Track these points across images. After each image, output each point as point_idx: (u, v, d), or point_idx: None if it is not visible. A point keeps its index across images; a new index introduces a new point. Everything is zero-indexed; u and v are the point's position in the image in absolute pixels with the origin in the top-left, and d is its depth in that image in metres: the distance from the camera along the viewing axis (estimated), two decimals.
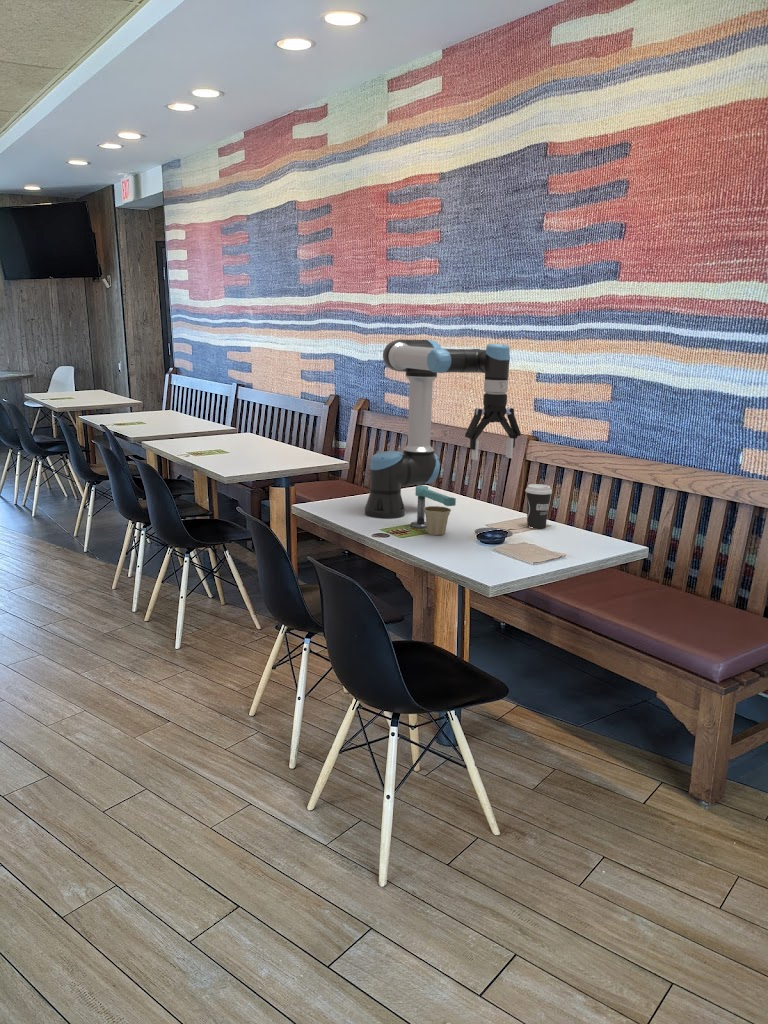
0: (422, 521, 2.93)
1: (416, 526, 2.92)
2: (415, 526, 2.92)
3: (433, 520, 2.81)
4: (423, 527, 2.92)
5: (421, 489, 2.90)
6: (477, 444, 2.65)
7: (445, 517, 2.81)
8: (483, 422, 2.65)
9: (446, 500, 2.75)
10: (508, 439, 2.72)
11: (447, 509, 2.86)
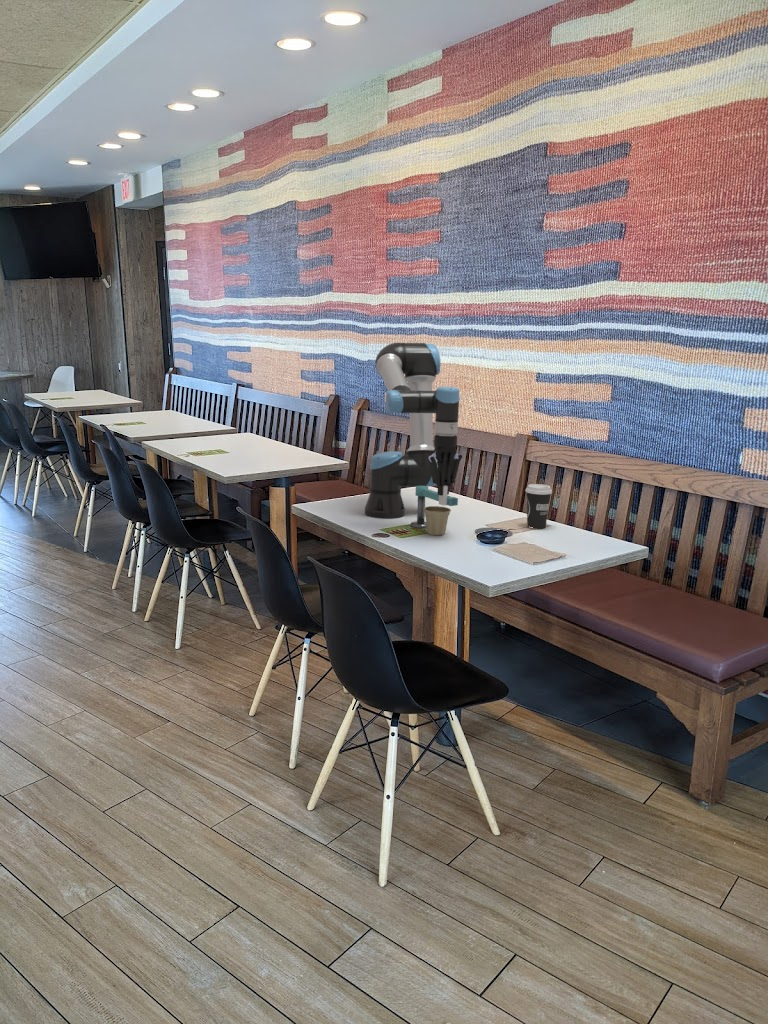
0: (422, 521, 2.93)
1: (416, 526, 2.92)
2: (415, 526, 2.92)
3: (433, 520, 2.81)
4: (423, 527, 2.92)
5: (421, 489, 2.90)
6: (444, 490, 2.75)
7: (445, 517, 2.81)
8: (440, 466, 2.73)
9: (448, 500, 2.75)
10: None
11: (447, 509, 2.86)
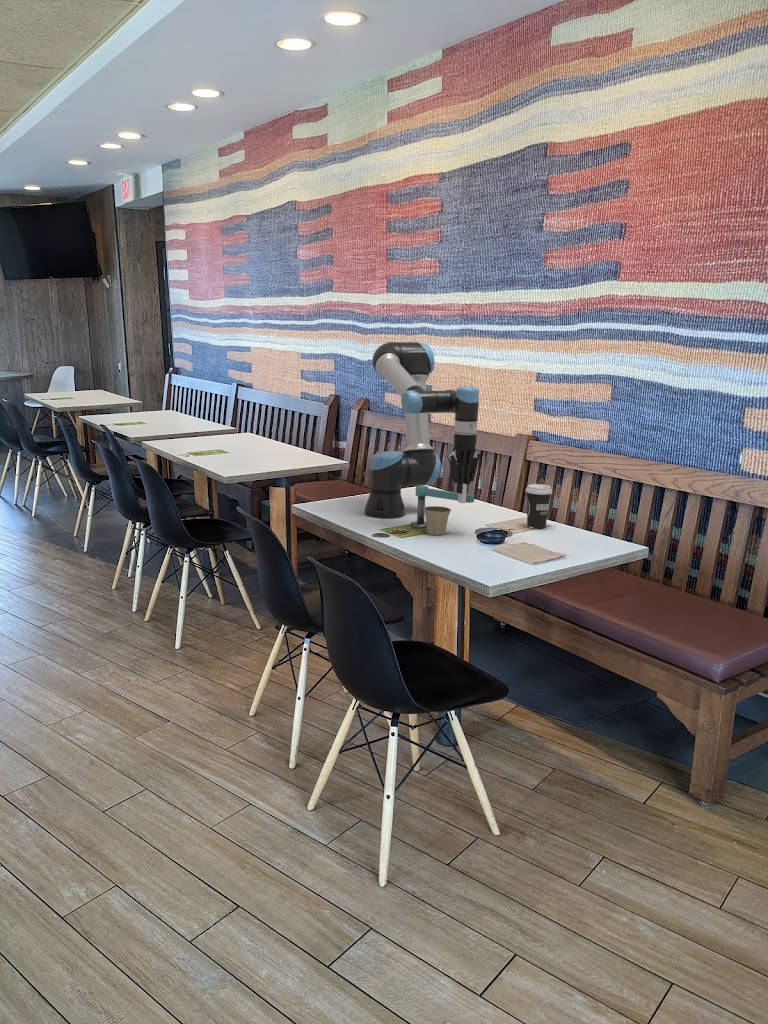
0: (422, 521, 2.93)
1: (416, 526, 2.92)
2: (415, 526, 2.92)
3: (433, 520, 2.81)
4: (423, 527, 2.92)
5: (424, 489, 2.90)
6: (464, 488, 2.79)
7: (445, 517, 2.81)
8: (460, 465, 2.77)
9: (467, 497, 2.81)
10: None
11: (447, 509, 2.86)
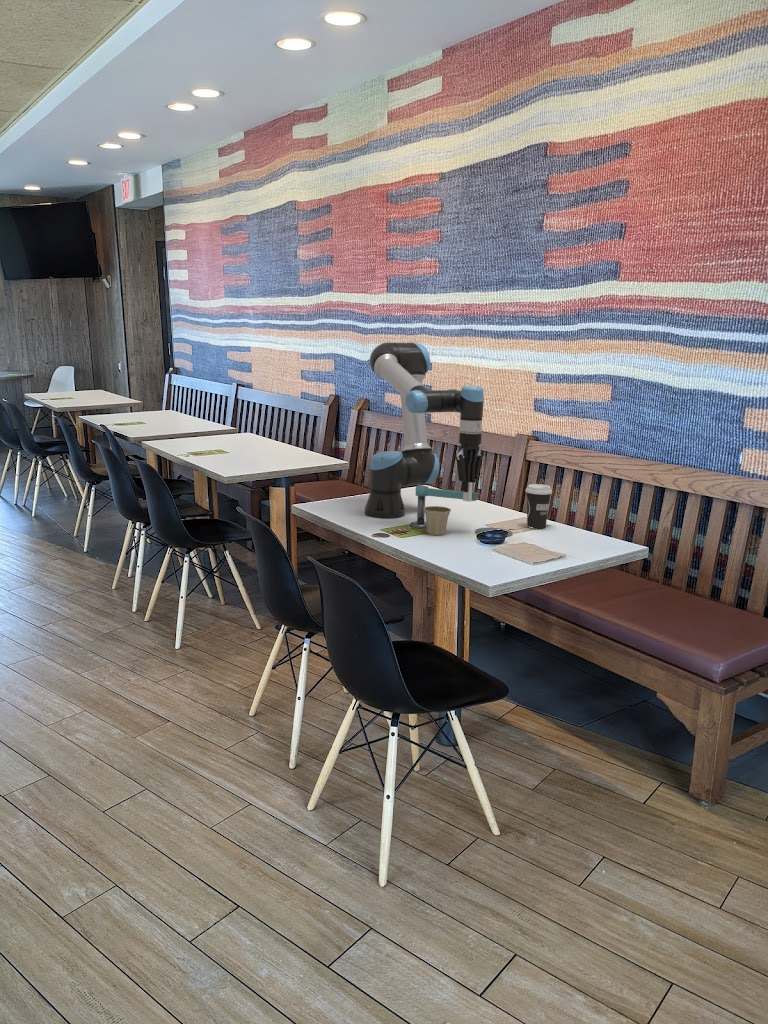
0: (422, 521, 2.93)
1: (416, 526, 2.92)
2: (415, 526, 2.92)
3: (433, 520, 2.81)
4: (423, 527, 2.92)
5: (425, 489, 2.90)
6: (470, 486, 2.82)
7: (445, 517, 2.81)
8: (466, 464, 2.80)
9: (473, 495, 2.84)
10: None
11: (447, 509, 2.86)
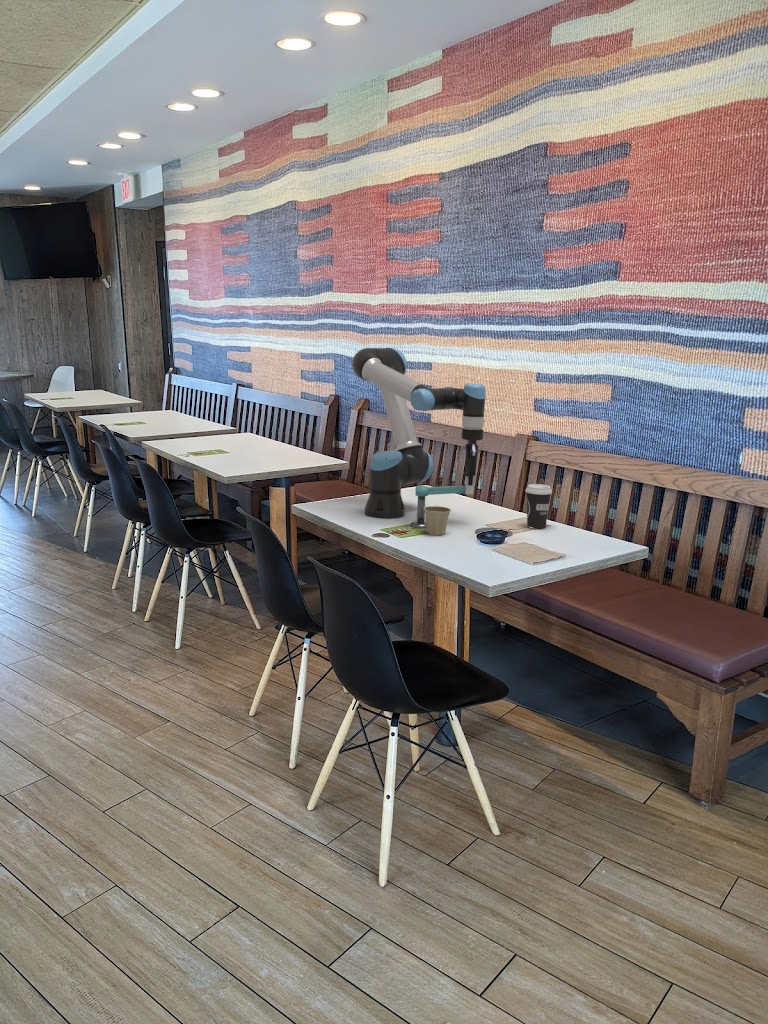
0: (422, 521, 2.93)
1: (416, 526, 2.92)
2: (415, 526, 2.92)
3: (433, 520, 2.81)
4: (423, 527, 2.92)
5: (428, 488, 2.92)
6: (473, 480, 2.95)
7: (445, 517, 2.81)
8: None
9: None
10: None
11: (447, 509, 2.86)
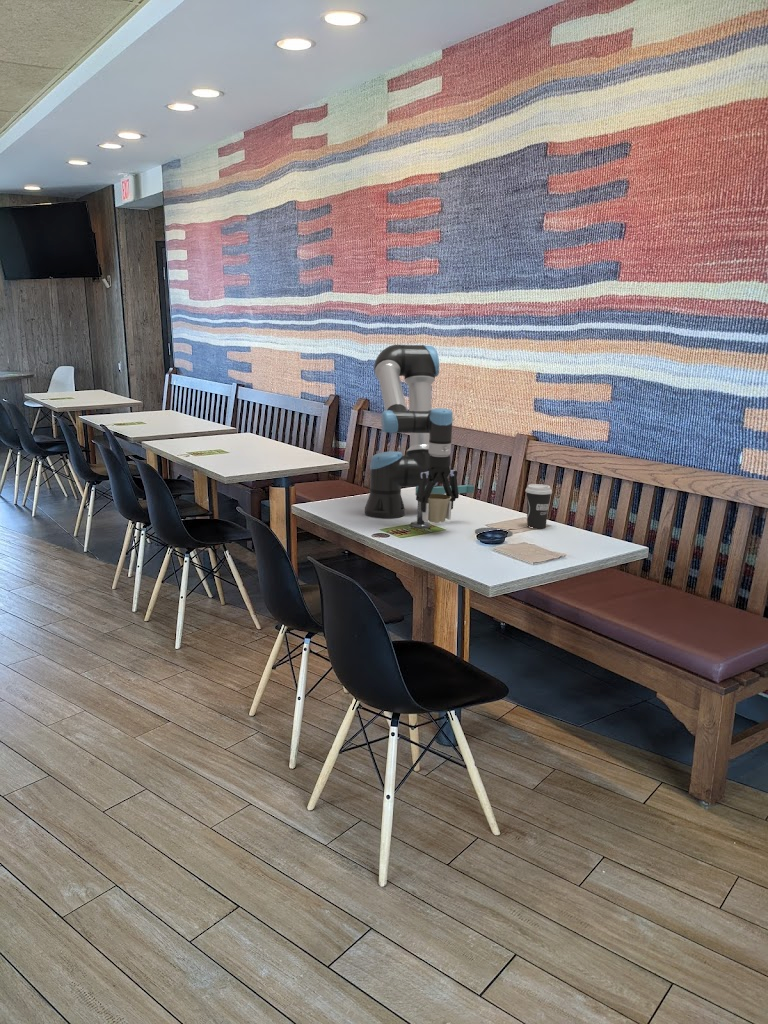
0: (422, 521, 2.93)
1: (416, 526, 2.92)
2: (415, 526, 2.92)
3: (433, 507, 2.81)
4: (423, 527, 2.92)
5: None
6: (427, 507, 2.81)
7: (445, 504, 2.81)
8: (430, 484, 2.80)
9: (471, 487, 2.98)
10: None
11: (447, 496, 2.85)
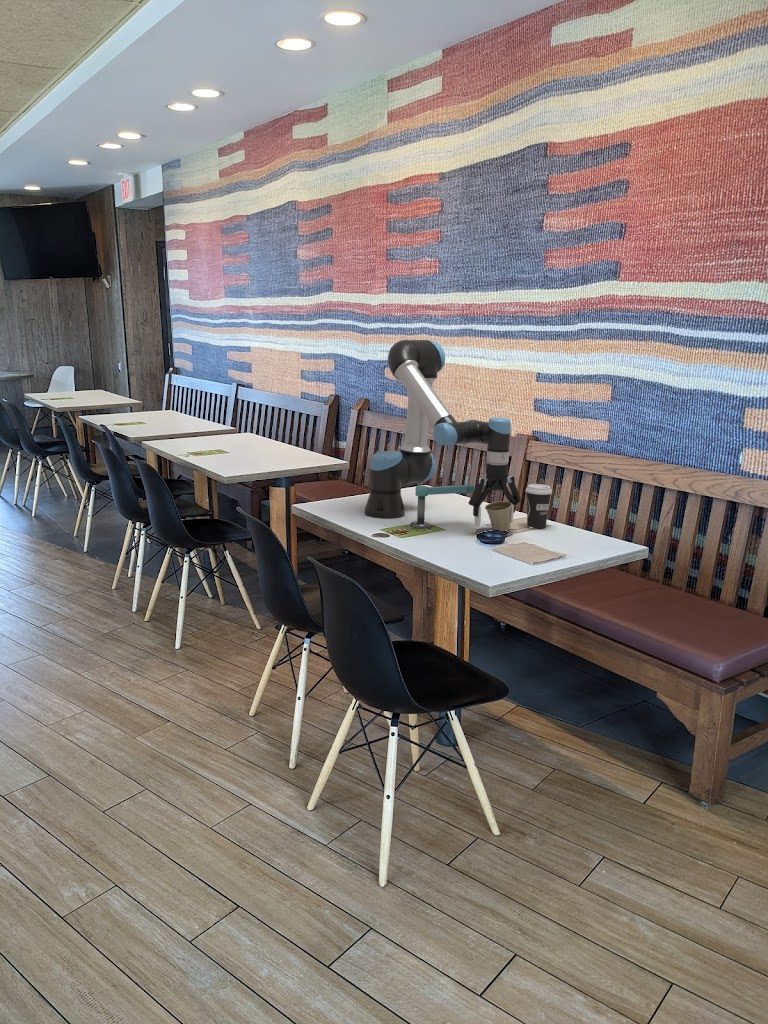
0: (422, 521, 2.93)
1: (416, 526, 2.92)
2: (415, 526, 2.92)
3: (496, 518, 2.85)
4: (423, 527, 2.92)
5: (428, 488, 2.92)
6: (480, 511, 2.82)
7: (508, 513, 2.85)
8: (485, 490, 2.82)
9: (471, 487, 2.98)
10: None
11: (508, 503, 2.89)
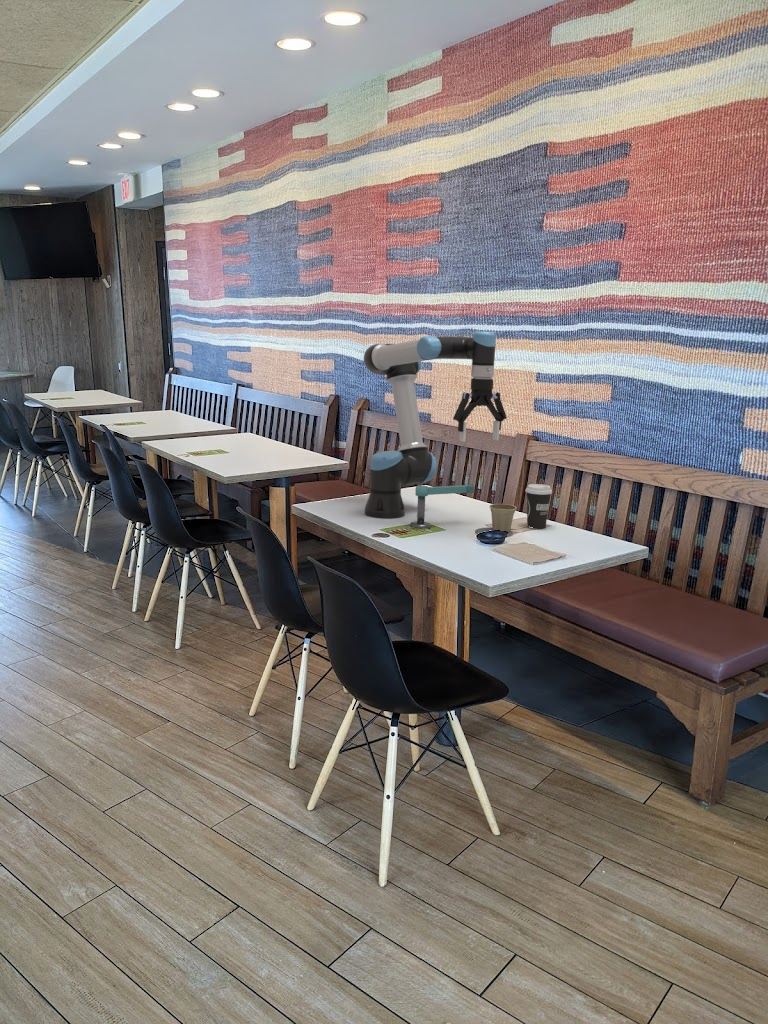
0: (422, 521, 2.93)
1: (416, 526, 2.92)
2: (415, 526, 2.92)
3: (499, 517, 2.86)
4: (423, 527, 2.92)
5: (428, 488, 2.92)
6: (465, 426, 2.79)
7: (511, 515, 2.86)
8: (470, 405, 2.79)
9: (471, 487, 2.98)
10: (494, 422, 2.86)
11: (513, 507, 2.90)
